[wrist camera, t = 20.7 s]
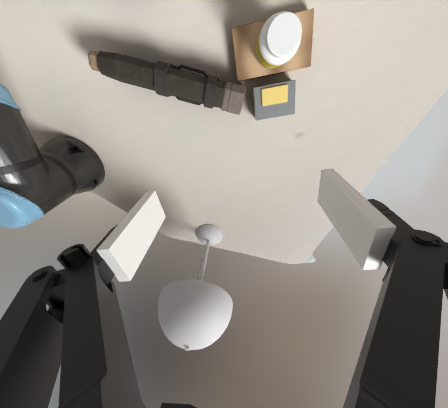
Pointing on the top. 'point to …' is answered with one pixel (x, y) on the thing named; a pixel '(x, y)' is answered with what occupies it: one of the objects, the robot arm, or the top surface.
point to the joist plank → (246, 47)
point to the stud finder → (274, 100)
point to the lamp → (195, 304)
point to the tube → (170, 80)
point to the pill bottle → (278, 39)
